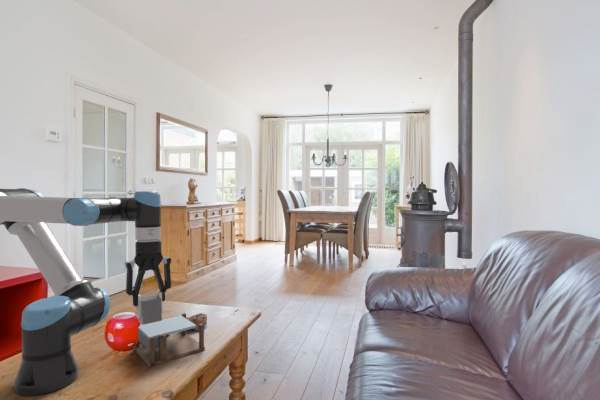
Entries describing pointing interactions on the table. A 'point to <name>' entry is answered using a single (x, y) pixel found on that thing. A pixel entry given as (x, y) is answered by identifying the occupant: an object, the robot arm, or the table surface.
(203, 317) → the mineral specimen
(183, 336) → the frame
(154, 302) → the block
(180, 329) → the trapdoor
